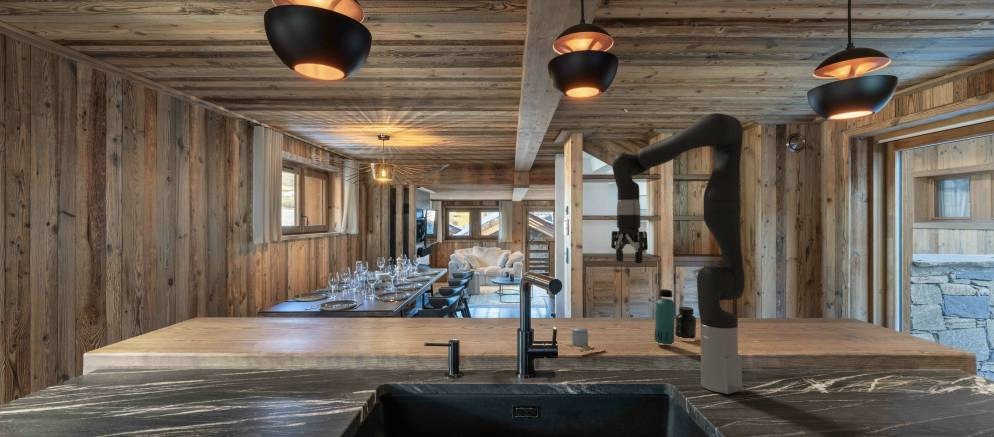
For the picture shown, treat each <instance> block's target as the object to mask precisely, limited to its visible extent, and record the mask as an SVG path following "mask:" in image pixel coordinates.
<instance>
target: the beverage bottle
mask: <svg viewBox="0 0 994 437" xmlns="http://www.w3.org/2000/svg"><path fill="white" fill-rule="evenodd" d="M659 296H660V297H661V298H659V299H657V300H656V301H655V314H654V315H655V316H654V318H655V323H654V325H655V326H654V341H656V342H658V343H663V344H672V343H673V344H674V342H675V310H676V306H675V305H676V303H675V302H674V300H672V299H670V298H672V297H673V291H672V290H670V289H664V288H663V289H660V290H659ZM656 342H655V343H656ZM658 343H657V344H658ZM673 344H672V345H673Z"/></svg>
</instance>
